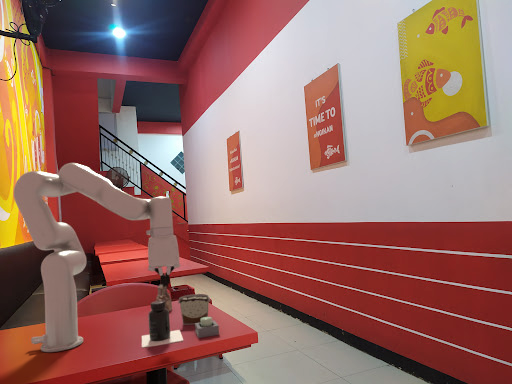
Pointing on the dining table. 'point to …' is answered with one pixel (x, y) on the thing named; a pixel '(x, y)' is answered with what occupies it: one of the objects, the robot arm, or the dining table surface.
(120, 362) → the dining table surface
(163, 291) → the figurine
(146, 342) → the paper sheet
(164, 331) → the supplement bottle
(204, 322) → the button
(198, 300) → the food container
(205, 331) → the button housing
